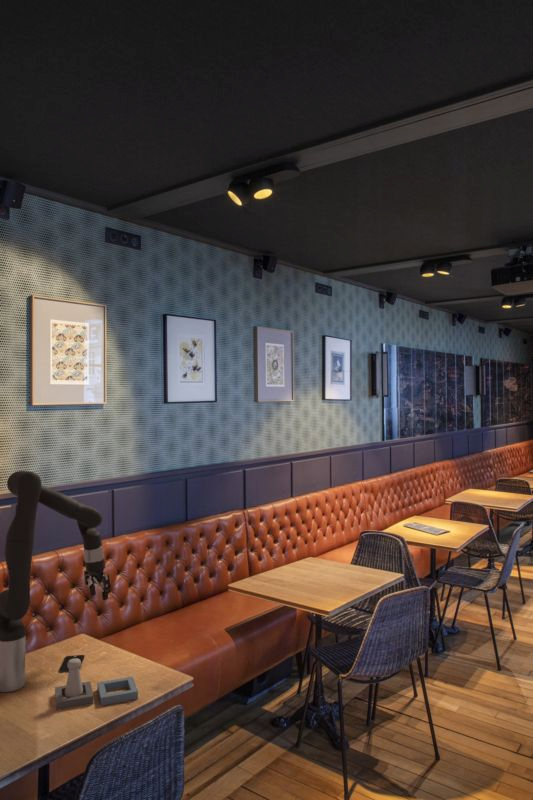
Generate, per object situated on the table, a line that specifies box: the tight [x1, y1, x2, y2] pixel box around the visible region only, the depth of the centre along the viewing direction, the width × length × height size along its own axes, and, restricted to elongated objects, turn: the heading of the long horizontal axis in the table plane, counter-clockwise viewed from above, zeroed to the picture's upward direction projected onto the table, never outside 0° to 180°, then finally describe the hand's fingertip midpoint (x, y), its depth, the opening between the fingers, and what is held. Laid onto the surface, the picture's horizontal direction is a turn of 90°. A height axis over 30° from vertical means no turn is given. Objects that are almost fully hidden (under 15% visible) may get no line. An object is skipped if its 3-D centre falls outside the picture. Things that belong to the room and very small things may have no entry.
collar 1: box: [54, 681, 94, 711], centre depth 195 cm, size 12×12×2 cm
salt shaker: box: [65, 658, 84, 698], centre depth 195 cm, size 6×6×13 cm
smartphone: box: [58, 654, 86, 674], centre depth 223 cm, size 8×1×15 cm
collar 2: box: [96, 676, 139, 706], centre depth 198 cm, size 12×12×2 cm
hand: (99, 597), depth 232 cm, fingers open, 8 cm apart
